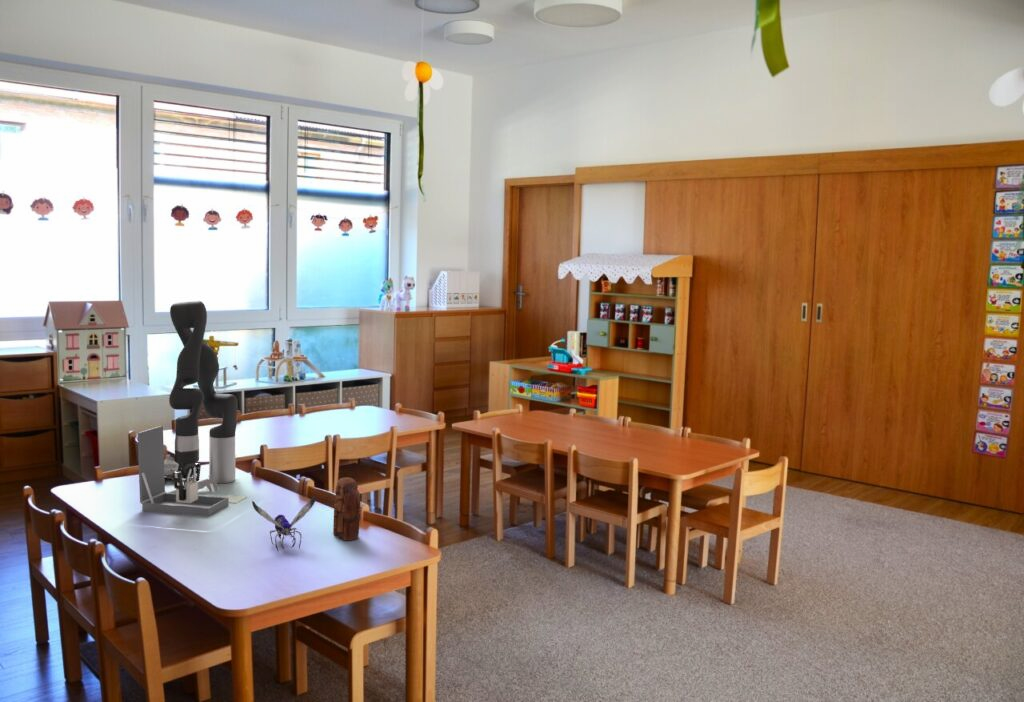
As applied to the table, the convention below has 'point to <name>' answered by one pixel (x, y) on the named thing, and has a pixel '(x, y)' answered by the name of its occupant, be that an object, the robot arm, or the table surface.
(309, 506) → the mechanical insect
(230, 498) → the mat
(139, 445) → the equipment case
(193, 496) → the block
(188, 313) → the robot arm
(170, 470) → the grey clay mound
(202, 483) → the caliper
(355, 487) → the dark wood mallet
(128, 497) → the table surface
